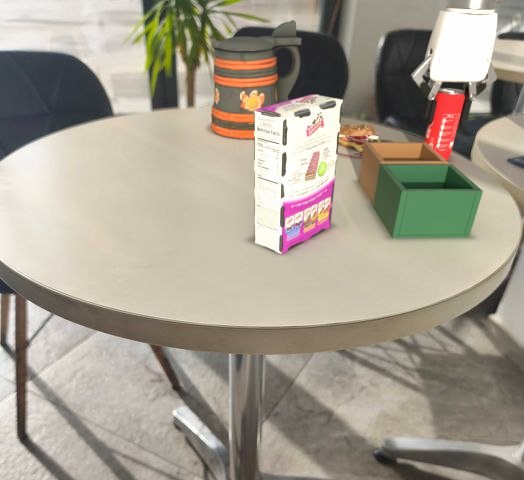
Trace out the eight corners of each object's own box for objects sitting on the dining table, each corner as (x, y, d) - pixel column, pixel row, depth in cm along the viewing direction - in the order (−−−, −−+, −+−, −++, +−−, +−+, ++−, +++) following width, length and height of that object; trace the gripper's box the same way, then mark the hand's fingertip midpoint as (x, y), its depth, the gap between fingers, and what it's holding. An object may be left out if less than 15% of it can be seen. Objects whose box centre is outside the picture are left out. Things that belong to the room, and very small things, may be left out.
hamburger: (309, 147, 98) (311, 115, 95) (352, 135, 106) (356, 105, 102) (366, 165, 91) (371, 130, 87) (408, 150, 98) (415, 118, 95)
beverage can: (438, 167, 91) (456, 95, 83) (414, 159, 94) (429, 89, 86) (453, 161, 94) (472, 91, 86) (430, 154, 97) (446, 86, 89)
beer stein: (280, 118, 116) (284, 16, 104) (308, 135, 106) (317, 23, 93) (202, 124, 110) (197, 16, 98) (224, 142, 100) (222, 24, 87)
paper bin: (416, 184, 83) (426, 142, 79) (437, 207, 76) (449, 162, 71) (358, 184, 83) (364, 141, 79) (372, 208, 75) (380, 162, 71)
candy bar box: (302, 218, 71) (312, 92, 61) (331, 228, 69) (346, 99, 59) (250, 243, 64) (252, 106, 54) (280, 256, 62) (287, 115, 52)
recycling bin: (440, 209, 75) (452, 163, 71) (468, 240, 67) (483, 191, 63) (372, 209, 74) (380, 163, 70) (391, 241, 66) (401, 191, 62)
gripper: (512, 0, 82) (480, 118, 93) (412, -2, 81) (391, 117, 92) (535, 4, 76) (497, 129, 87) (427, 1, 75) (403, 128, 86)
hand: (443, 122), depth 89 cm, fingers closed on beverage can, 5 cm apart
